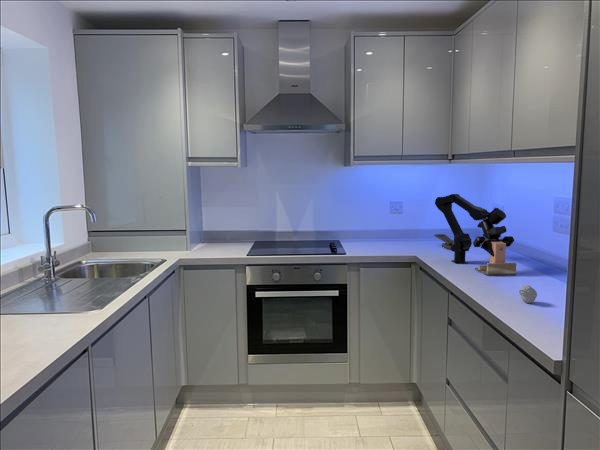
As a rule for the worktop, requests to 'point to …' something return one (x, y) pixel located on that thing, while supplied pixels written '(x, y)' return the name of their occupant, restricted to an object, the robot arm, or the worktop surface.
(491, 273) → the cleat board
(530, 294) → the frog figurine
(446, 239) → the zipper pull
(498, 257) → the cabinet block
